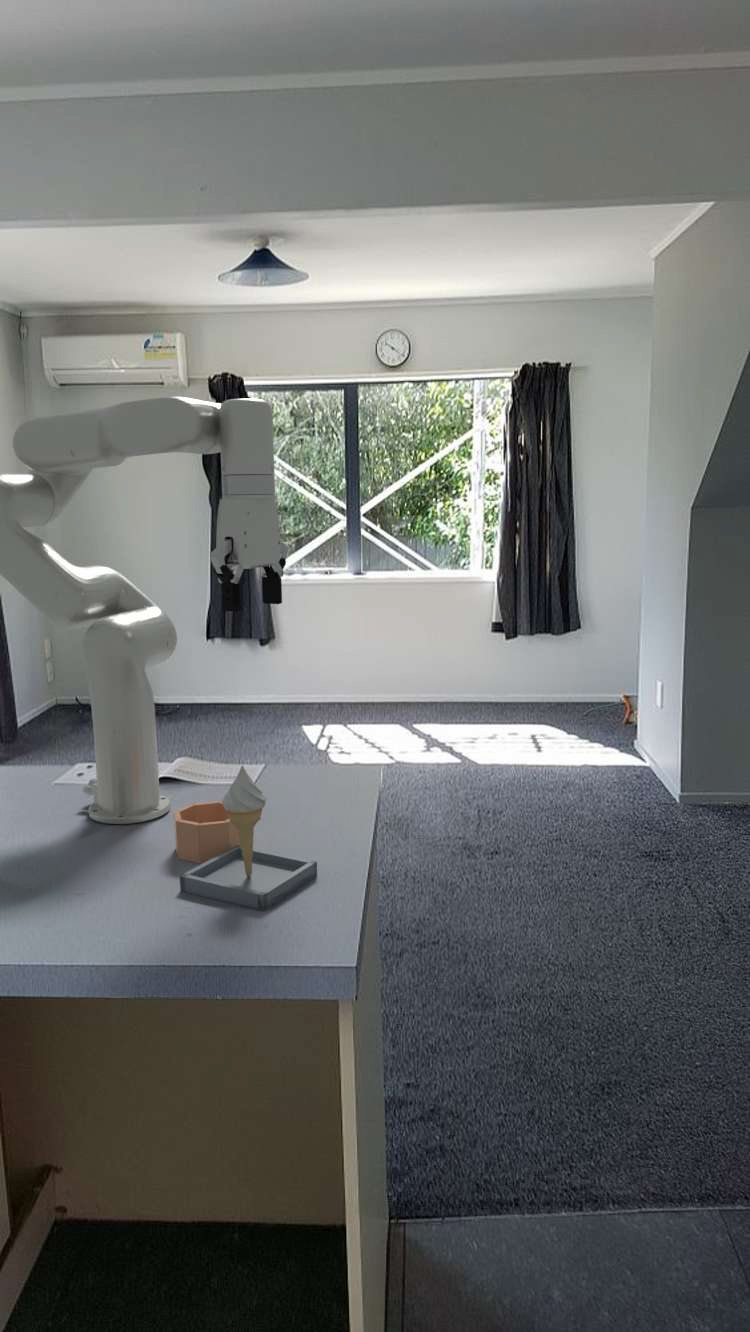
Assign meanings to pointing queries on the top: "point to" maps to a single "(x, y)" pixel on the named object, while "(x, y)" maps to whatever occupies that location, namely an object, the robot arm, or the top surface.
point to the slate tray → (261, 890)
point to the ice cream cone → (244, 812)
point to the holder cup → (203, 831)
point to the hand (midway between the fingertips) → (253, 607)
